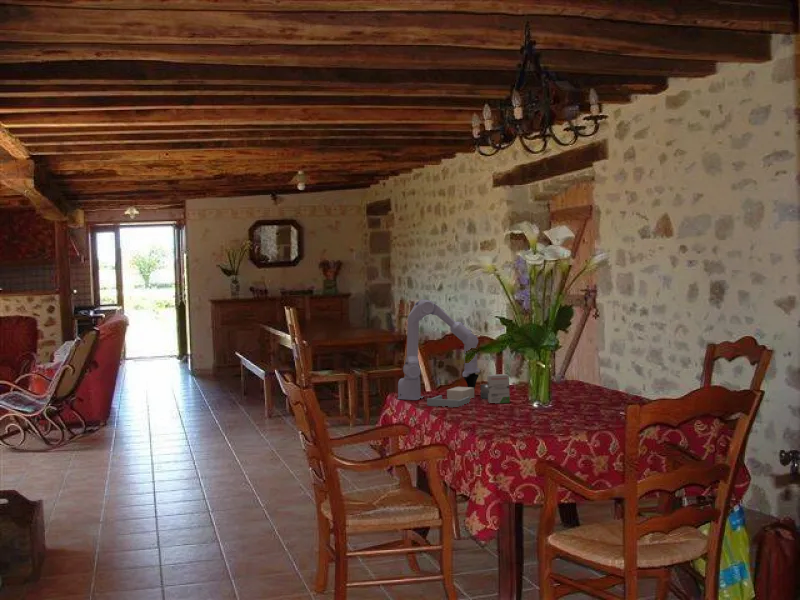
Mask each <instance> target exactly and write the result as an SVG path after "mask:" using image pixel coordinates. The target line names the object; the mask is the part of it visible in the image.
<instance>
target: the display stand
mask: <svg viewBox="0 0 800 600" xmlns="http://www.w3.org/2000/svg"><path fill="white" fill-rule="evenodd" d="M469 402H470V403H471V400H470V397H466V398H463V399H461V400H448V399H447V398H446V399H444V398H443V395H442V394H440V395H437V396H434V397H431V398H430V397H428V398H426V405H427V406H428V407H438V406H442V408H446V407H445V406H448V407H447V408H453V407H459V406H461V407H463V406H465V405H464V404H466V405H468V404H470V403H469ZM467 403H468V404H467ZM462 405H463V406H462ZM459 408H460V407H459Z"/></svg>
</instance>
